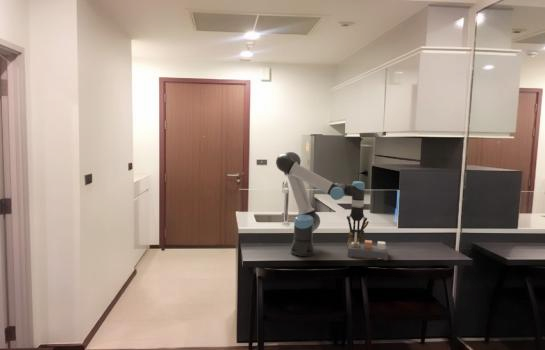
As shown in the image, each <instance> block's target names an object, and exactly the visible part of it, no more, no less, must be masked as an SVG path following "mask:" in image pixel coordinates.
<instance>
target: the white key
mask: <svg viewBox="0 0 545 350" xmlns="http://www.w3.org/2000/svg"><path fill="white" fill-rule="evenodd" d="M376 246H377V250H385V246H386V241H382V240H381V241H379V240H378V241H377V245H376Z"/></svg>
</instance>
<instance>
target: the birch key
mask: <svg viewBox="0 0 545 350" xmlns="http://www.w3.org/2000/svg"><path fill="white" fill-rule="evenodd" d="M351 247H356V248H359V242H357V244H356V243H354V242H352V244H351Z"/></svg>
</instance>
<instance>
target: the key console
mask: <svg viewBox="0 0 545 350" xmlns="http://www.w3.org/2000/svg"><path fill="white" fill-rule="evenodd" d="M351 244H352V243H349V246H348V247H347V257H351V256H354V258H360V257H366V258H365V259H370V258H381V259H389V248H388V246H386V245H385V250H377V246H378V245H374V244H372V249H366V248H364V245H365V243H364V244H363V243H360V244H359V248H356V247H351Z"/></svg>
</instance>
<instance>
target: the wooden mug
mask: <svg viewBox="0 0 545 350" xmlns="http://www.w3.org/2000/svg"><path fill="white" fill-rule="evenodd" d="M369 223H370V222H369V221H367V220H366V222H365V224H364V227H363V230H362V233H359V238H357V242H359V244H361V242H362V240H363V238H364V236H365V228H366V227H368V225H369ZM352 230H353V228H352ZM359 230H361V228H359ZM355 232H357V229H355ZM360 235H361V236H360ZM352 242H354V238H353V232H350V231H349V232H348V239H347V243H346V247H347V248H348V246H349V243H352Z"/></svg>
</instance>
